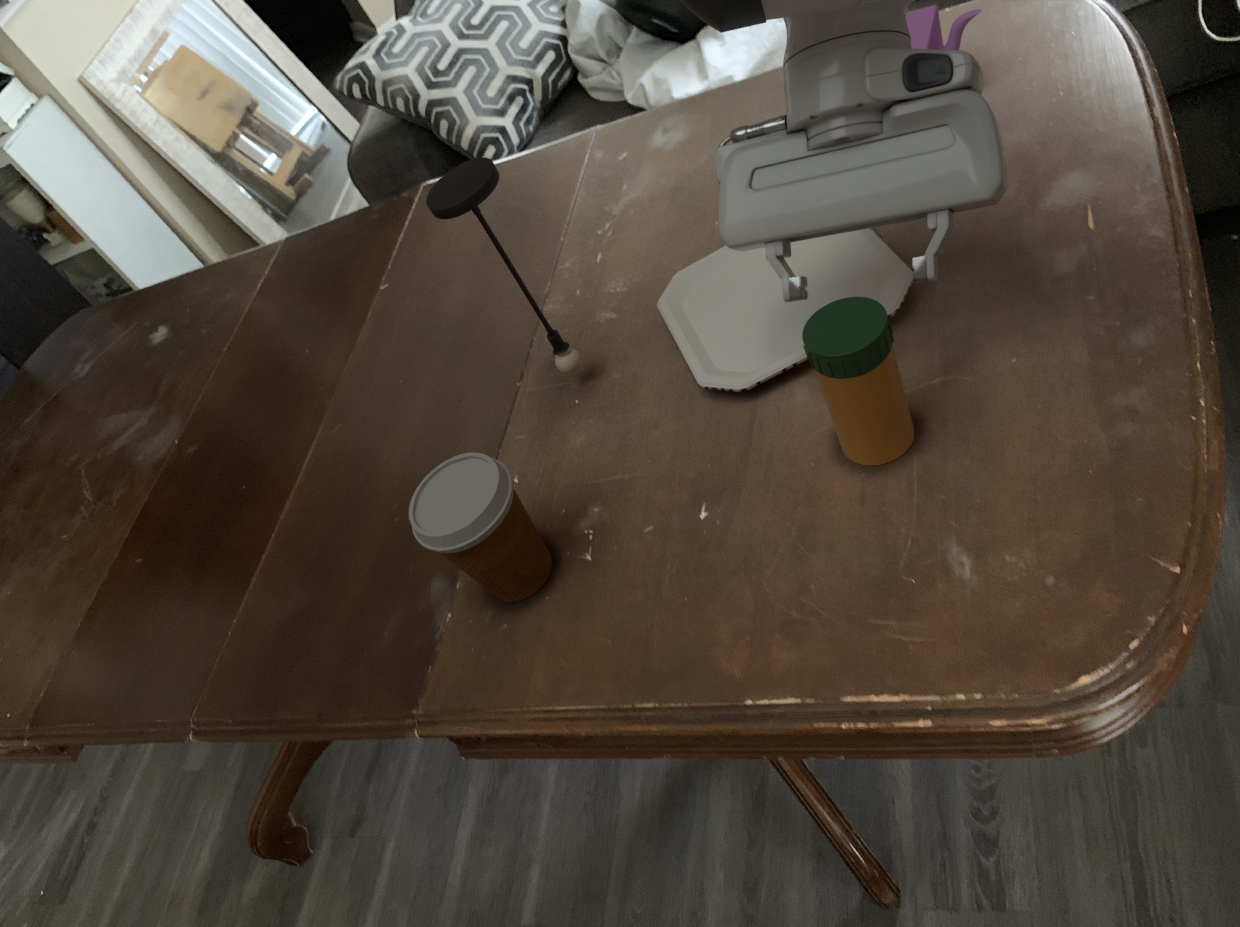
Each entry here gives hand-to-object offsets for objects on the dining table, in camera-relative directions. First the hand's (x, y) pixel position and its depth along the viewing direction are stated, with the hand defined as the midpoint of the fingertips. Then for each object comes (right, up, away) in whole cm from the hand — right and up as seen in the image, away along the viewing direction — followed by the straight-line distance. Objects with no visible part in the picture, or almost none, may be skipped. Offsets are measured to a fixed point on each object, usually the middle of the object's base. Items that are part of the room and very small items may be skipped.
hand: (858, 292), depth 67 cm
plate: (-1, +3, +19) cm, 19 cm away
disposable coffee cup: (-26, -22, +14) cm, 37 cm away
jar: (+3, -11, +5) cm, 12 cm away
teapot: (+15, +27, +29) cm, 42 cm away
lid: (-2, -4, -4) cm, 6 cm away
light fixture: (-20, -3, +26) cm, 33 cm away
